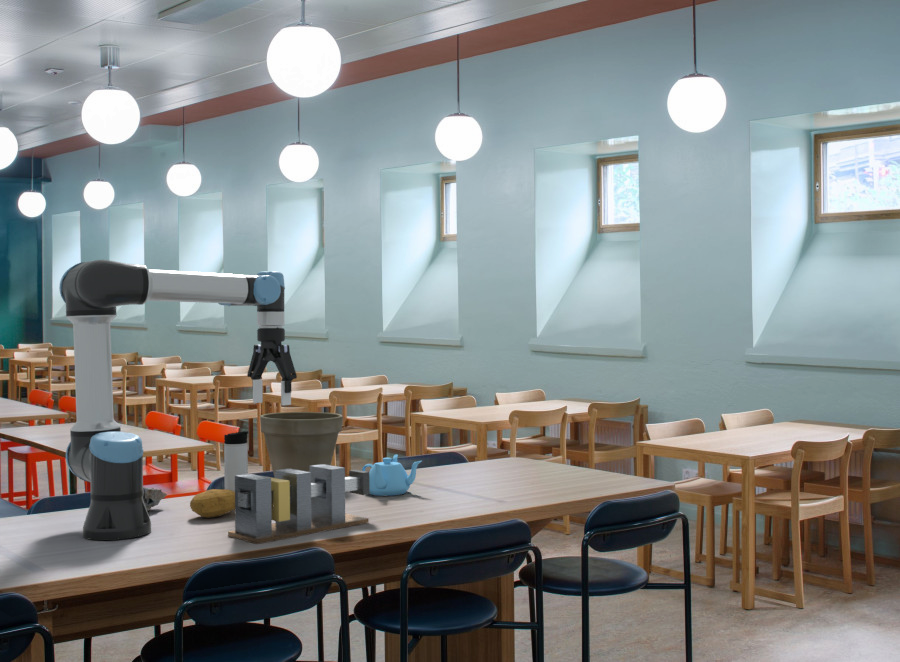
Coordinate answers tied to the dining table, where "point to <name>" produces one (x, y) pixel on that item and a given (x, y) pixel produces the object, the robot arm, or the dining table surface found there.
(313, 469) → the bearing rail
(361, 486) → the shaft
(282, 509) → the spacer
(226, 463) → the travel mug
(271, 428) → the plant pot
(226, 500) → the potato
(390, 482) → the teapot
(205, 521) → the dining table surface
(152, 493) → the mineral specimen
